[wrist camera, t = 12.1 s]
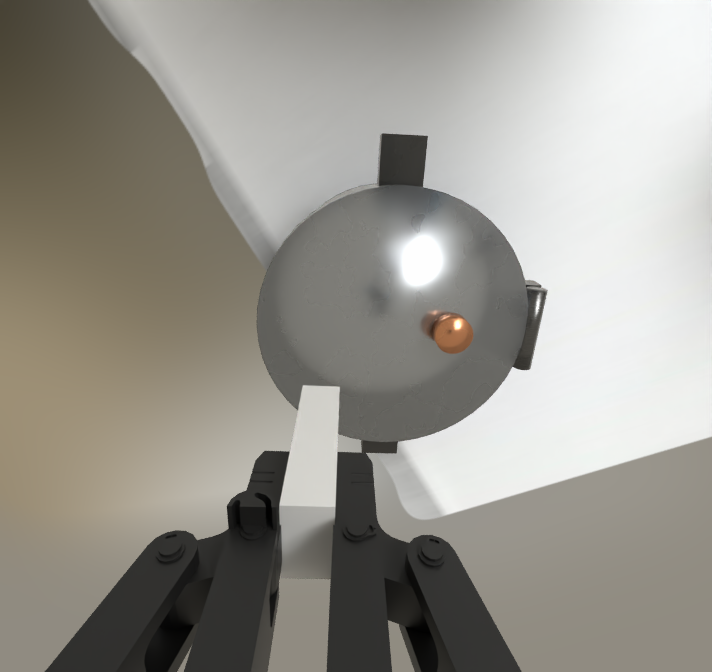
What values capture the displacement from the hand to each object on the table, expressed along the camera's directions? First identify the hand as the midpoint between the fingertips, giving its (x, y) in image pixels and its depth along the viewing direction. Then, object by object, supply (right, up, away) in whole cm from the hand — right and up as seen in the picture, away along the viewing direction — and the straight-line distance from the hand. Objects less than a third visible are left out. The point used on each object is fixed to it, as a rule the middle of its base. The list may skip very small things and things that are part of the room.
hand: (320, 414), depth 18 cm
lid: (+5, +4, +14) cm, 15 cm away
